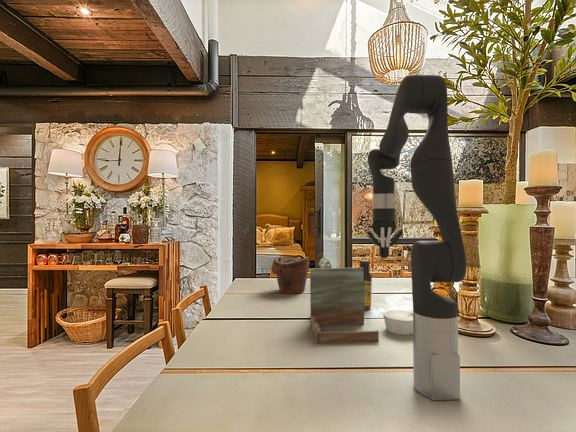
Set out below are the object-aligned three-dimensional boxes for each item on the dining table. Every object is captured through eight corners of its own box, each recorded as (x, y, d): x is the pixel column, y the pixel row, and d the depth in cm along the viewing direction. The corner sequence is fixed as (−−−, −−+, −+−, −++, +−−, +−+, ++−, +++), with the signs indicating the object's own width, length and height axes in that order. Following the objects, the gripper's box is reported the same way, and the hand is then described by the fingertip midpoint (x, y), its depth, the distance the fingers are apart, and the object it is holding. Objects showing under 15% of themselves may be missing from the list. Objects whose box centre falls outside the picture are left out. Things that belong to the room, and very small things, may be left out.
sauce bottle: (355, 309, 137) (355, 261, 136) (356, 305, 143) (355, 259, 143) (372, 310, 135) (371, 261, 135) (371, 306, 141) (371, 259, 141)
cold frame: (378, 341, 103) (378, 276, 103) (317, 343, 102) (316, 277, 102) (363, 323, 120) (362, 267, 120) (310, 324, 119) (310, 268, 119)
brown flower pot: (267, 288, 177) (267, 254, 177) (303, 285, 183) (303, 253, 183) (276, 296, 160) (276, 259, 160) (315, 293, 166) (315, 257, 166)
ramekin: (424, 336, 107) (424, 320, 107) (389, 337, 107) (389, 320, 107) (411, 324, 118) (411, 310, 118) (379, 325, 118) (379, 310, 118)
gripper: (368, 207, 110) (368, 260, 110) (407, 207, 111) (407, 259, 111) (361, 207, 117) (361, 257, 118) (398, 207, 119) (398, 256, 119)
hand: (384, 257), depth 115 cm, fingers closed
